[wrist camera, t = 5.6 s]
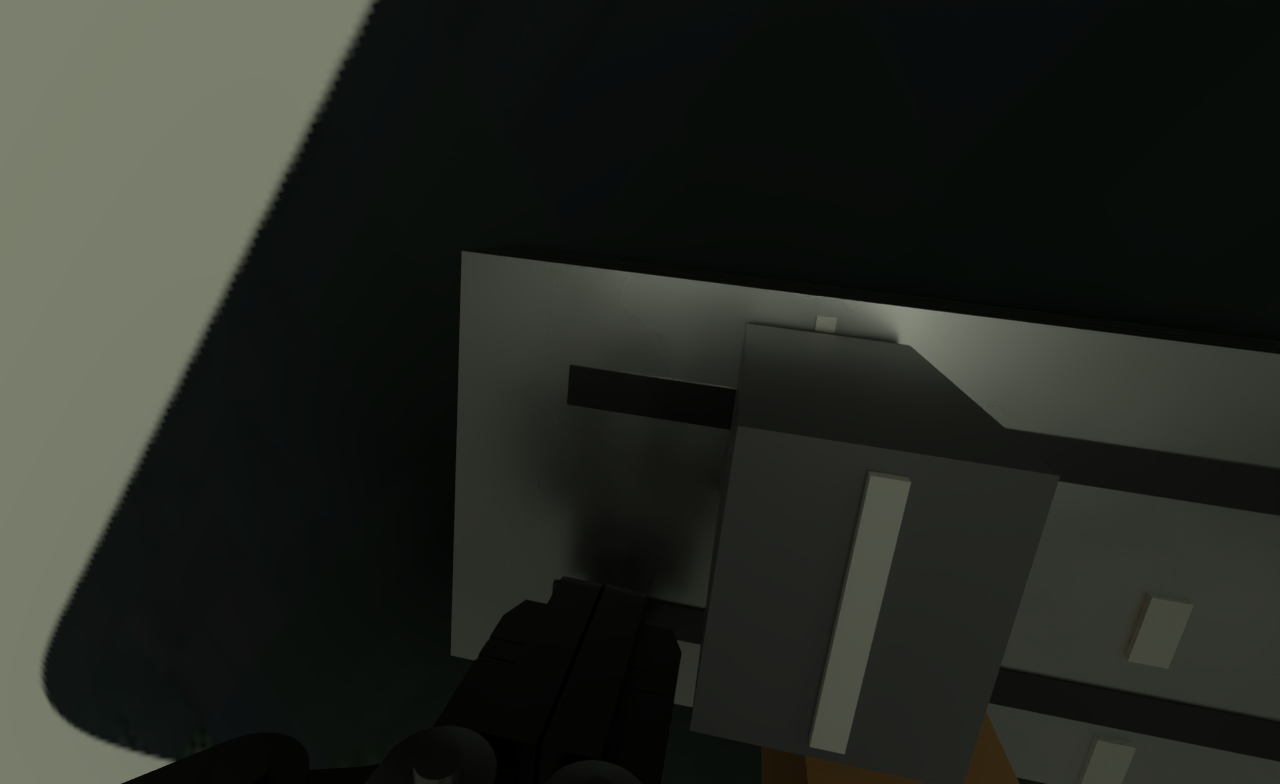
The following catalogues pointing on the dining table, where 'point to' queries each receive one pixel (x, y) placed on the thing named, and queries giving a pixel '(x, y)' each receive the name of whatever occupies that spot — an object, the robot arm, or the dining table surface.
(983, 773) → the fader
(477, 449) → the console
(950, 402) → the fader
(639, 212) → the dining table surface
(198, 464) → the dining table surface
